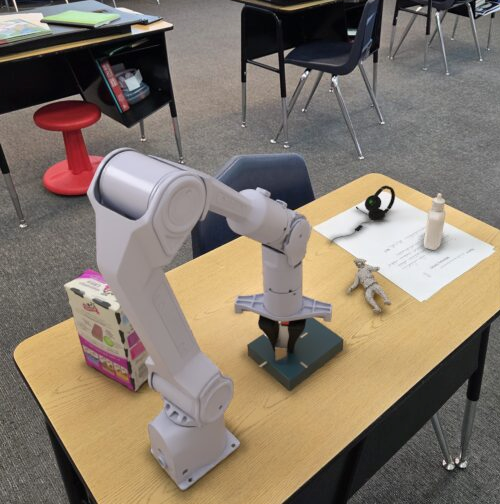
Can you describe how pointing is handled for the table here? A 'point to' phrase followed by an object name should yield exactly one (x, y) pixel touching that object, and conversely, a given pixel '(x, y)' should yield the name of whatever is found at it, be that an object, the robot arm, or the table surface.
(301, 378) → the tap console
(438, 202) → the eye dropper bottle
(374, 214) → the headset
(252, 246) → the table surface
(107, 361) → the candy bar box
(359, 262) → the soldier figure
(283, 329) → the tap handle
